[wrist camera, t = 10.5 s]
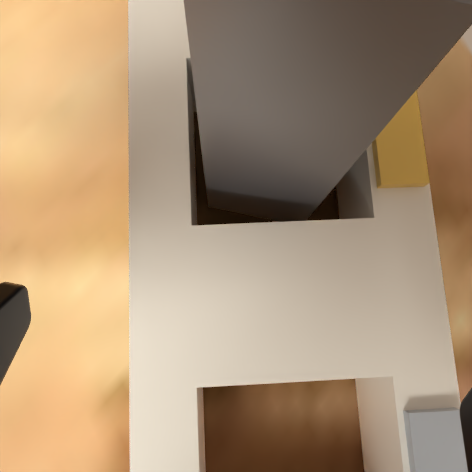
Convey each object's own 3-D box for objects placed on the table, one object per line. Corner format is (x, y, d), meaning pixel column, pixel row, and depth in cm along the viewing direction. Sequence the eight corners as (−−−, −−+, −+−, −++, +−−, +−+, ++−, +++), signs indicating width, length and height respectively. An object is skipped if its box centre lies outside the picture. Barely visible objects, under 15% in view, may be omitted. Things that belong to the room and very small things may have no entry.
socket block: (432, 604, 16) (512, 712, 11) (154, 626, 15) (127, 746, 11) (366, 55, 20) (406, -18, 16) (147, 61, 19) (125, -13, 15)
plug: (301, 226, 18) (542, -61, 4) (208, 206, 18) (167, -138, 5) (317, 139, 19) (566, -333, 5) (228, 120, 19) (244, -396, 5)
